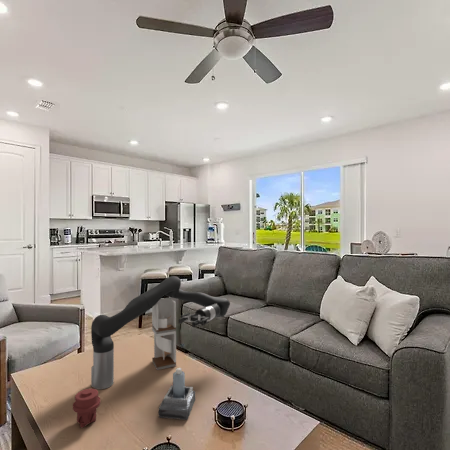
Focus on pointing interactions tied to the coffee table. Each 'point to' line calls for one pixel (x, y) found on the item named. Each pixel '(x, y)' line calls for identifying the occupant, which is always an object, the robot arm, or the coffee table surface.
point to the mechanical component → (86, 406)
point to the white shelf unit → (164, 333)
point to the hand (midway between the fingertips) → (185, 323)
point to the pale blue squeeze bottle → (179, 383)
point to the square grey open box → (177, 405)
